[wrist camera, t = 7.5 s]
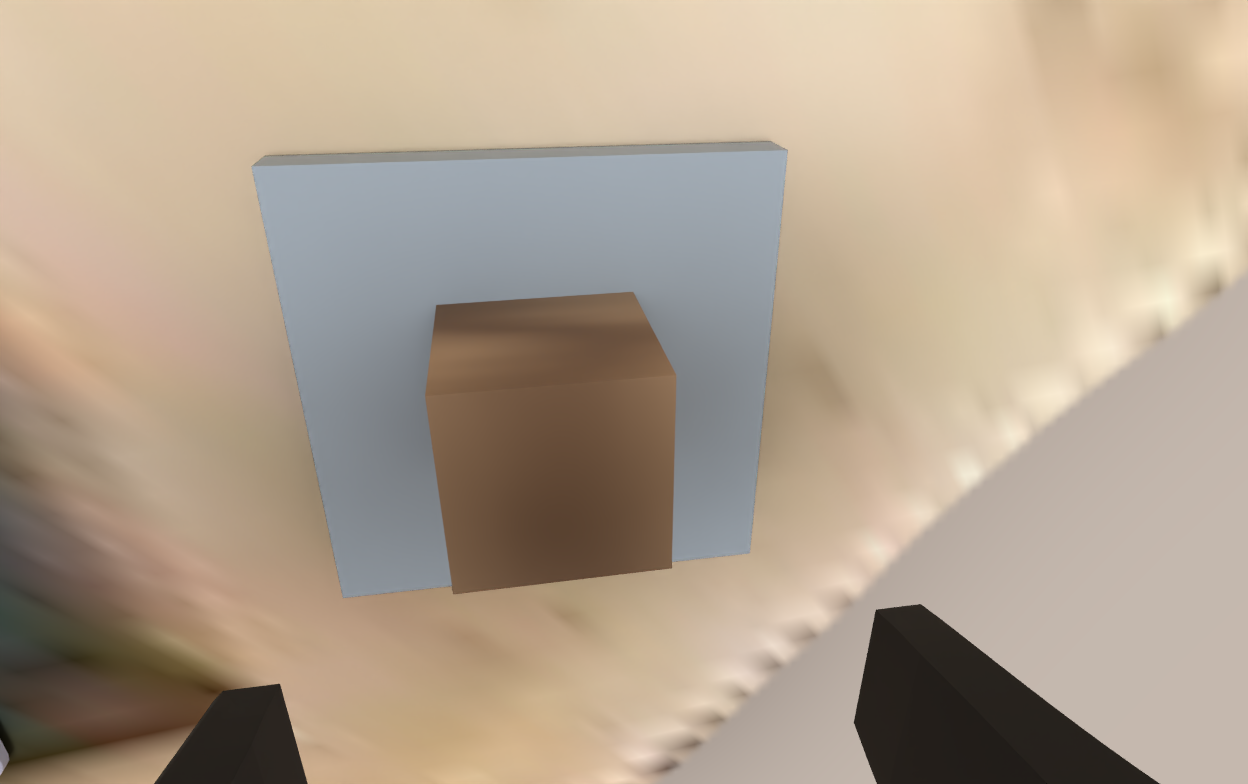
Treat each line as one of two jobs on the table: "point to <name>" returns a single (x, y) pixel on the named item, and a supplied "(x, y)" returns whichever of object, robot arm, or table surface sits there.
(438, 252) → the mat
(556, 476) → the walnut cube
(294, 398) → the table surface
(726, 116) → the table surface
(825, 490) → the table surface
